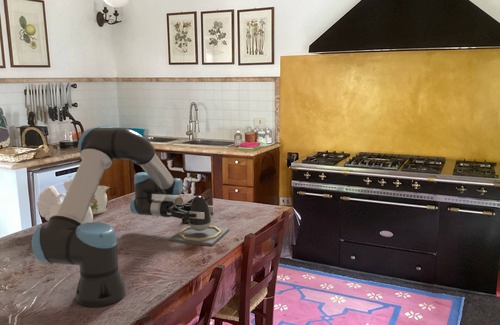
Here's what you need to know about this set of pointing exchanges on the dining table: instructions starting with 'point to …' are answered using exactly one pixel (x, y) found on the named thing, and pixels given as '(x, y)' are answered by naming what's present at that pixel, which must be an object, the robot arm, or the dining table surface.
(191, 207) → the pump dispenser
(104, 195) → the pitcher
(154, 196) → the toilet tissue
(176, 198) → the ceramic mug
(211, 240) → the dock plate
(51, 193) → the decorative rooster
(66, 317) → the dining table surface
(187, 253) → the dining table surface
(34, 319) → the dining table surface
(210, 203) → the letter holder
